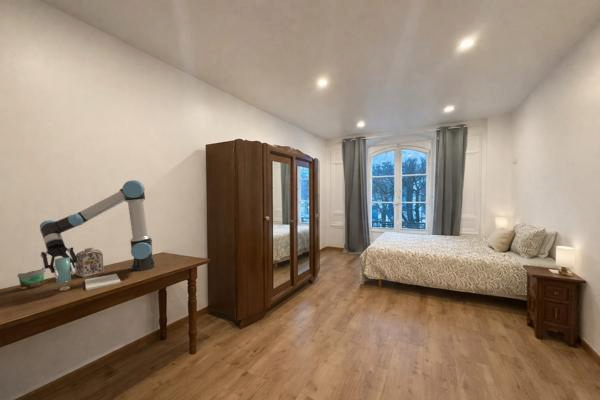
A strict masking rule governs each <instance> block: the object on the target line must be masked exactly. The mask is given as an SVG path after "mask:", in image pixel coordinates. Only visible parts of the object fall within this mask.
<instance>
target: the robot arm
mask: <svg viewBox="0 0 600 400" xmlns="http://www.w3.org/2000/svg"><path fill="white" fill-rule="evenodd" d="M145 195H146V194H145V186H144V184H143V183H142V182H140V181H139V180H136V179H135V180H133V179H132V180H131V179H130V180H128V181H126V182H125V183H124V184H123V185H122V188H120V189H119V190H118V192H115V193H114V194H111V195H110V196H108V197H105V198H104V199H101V200H100V201H99V202H96V203H94V204H92V205H90V206H88V207H86V208H84V209H82V210H80V211H79V212H76V213H74V214H71V215H68V216H66V217H63V218H61V219H59V220H56V221H55V220H53V219H49V220H44V221H43V222H41V223H40V224H39V229H40V230H39V231H40V233H41V235H42V239H43V241H44V245H45V248H46V251H41V253H40V257H41V258H42V263H43V268H44V269H45V270H47V269H49V270H50V273H52V274H54V277H55V279H56V278H58V276H59V275H58V272H57V269H56V266H55V259H56V257H61V258H64V257H70V269H71V276H73V275H74V274H75V273H76V270H75V263H76V262H77V257H76V255H77V254H76V253H75V251H74V247H69V248H68V247H67V246H66V245H65V242H64V240H63V236H62V233H65V232H66V231H69V230H72V229H73V228H76V227H79V226H81V225H84V223H85V224H86V222H89V221H90V220H93V219H95V217H98V216H99V215H102V214H103V213H105V212H107V211H109V210H111V209H113V208H115V207H117V206H119V205H121V204H122V203H124V202H126V203H127V204H128V213H129V219H130V220H129V221H130V227H131V236H132V238H131V239H130V240H129V241H130V254H131V256H132V257H133V260H132V263H131V265H130V269H131V271H134V272H135V271H137V272H138V271H146V270H150V269H152V268H155V267H156V262H155V260H154V258H153V238H152V236H149V235H148V231H147V222H146V215H145V214H146V213H145V207H144V206H145V205H144V201H145V200H146V196H145ZM67 252H68V253H69V254H68V253H67ZM48 255H49V256H51V257H50V258H51V260H50V264H49V261H48ZM69 255H70V256H69Z"/></svg>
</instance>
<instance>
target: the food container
mask: <svg viewBox="0 0 600 400" xmlns="http://www.w3.org/2000/svg"><path fill="white" fill-rule="evenodd" d="M46 270H47V269H45V268H44V267H42V268H41V269H37V270H30V271H28V272H24V273H18V274H17V275H16V276H17V277H16V278H18V282H19V286H20V290H21V291H24V290H25V291H27V290H28V291H29V290H32V289H37V288H40V287H42V286H44V280H45V272H47V271H46Z"/></svg>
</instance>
